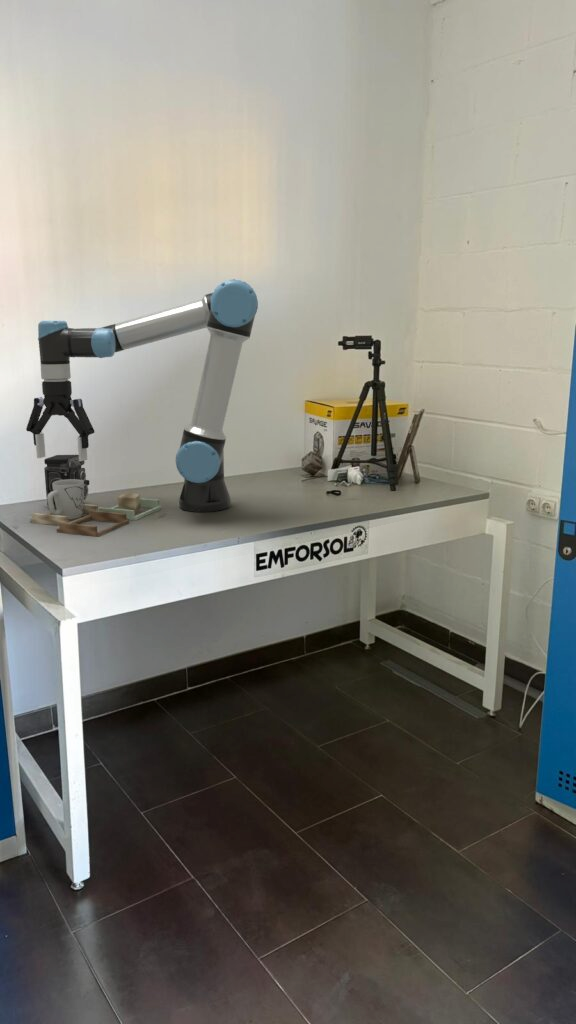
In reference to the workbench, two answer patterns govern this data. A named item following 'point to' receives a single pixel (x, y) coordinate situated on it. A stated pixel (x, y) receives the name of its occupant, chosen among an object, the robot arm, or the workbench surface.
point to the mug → (67, 498)
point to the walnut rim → (92, 530)
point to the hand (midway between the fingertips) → (62, 459)
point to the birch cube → (130, 502)
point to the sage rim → (130, 513)
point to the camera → (64, 471)
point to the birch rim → (58, 519)
